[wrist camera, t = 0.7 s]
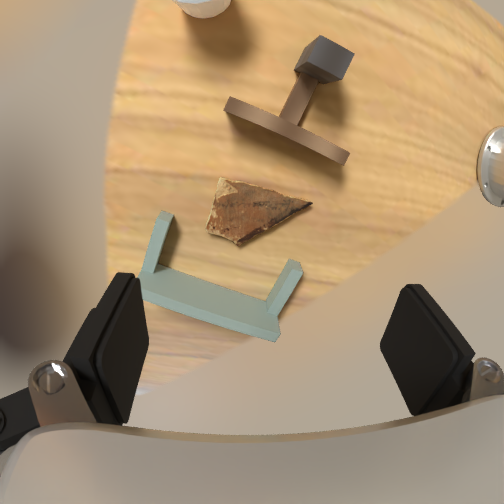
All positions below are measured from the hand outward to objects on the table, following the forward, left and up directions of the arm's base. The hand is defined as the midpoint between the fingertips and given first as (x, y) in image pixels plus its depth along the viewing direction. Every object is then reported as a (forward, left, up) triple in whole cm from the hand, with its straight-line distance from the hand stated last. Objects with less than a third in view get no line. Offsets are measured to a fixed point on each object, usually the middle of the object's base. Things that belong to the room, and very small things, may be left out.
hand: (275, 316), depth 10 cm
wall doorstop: (-2, -10, -25) cm, 27 cm away
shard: (-2, +3, -26) cm, 26 cm away
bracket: (-2, +13, -25) cm, 28 cm away
